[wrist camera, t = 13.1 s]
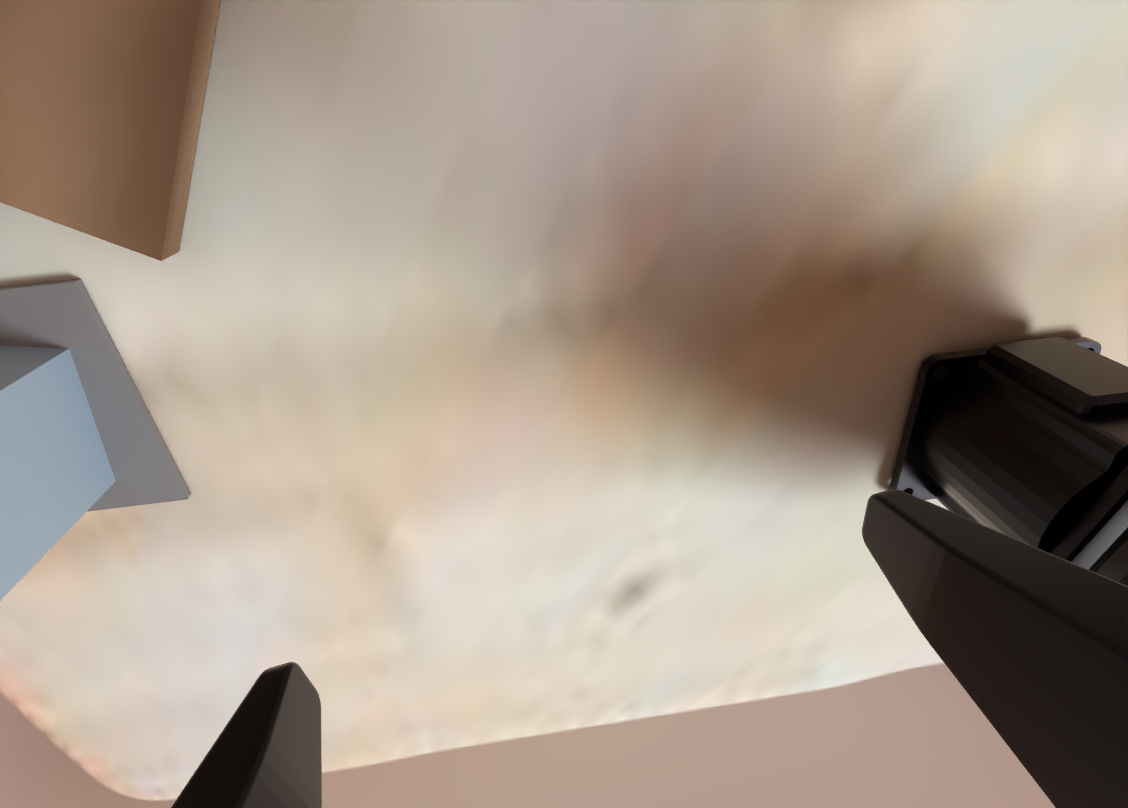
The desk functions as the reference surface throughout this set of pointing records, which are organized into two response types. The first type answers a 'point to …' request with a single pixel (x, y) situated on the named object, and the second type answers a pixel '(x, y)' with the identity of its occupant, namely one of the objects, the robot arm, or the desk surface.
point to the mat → (97, 387)
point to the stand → (104, 113)
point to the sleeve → (44, 456)
